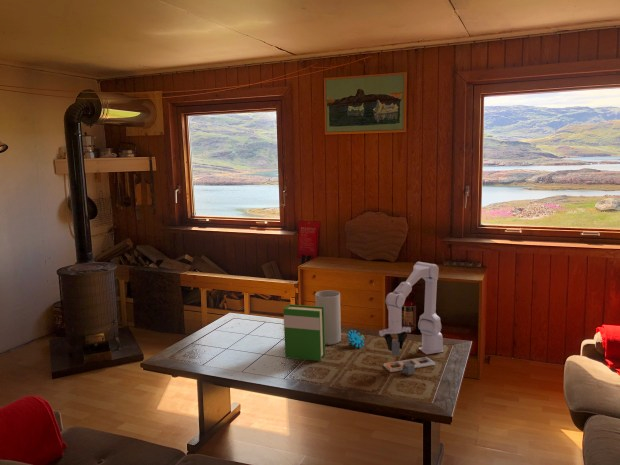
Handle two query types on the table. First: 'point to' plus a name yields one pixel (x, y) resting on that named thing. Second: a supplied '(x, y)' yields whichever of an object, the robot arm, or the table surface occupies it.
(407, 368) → the grey wood-grain cube
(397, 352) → the dark square post
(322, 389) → the table surface
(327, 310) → the cylinder vase
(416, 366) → the square hole plate
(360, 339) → the gear
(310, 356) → the hardback book
